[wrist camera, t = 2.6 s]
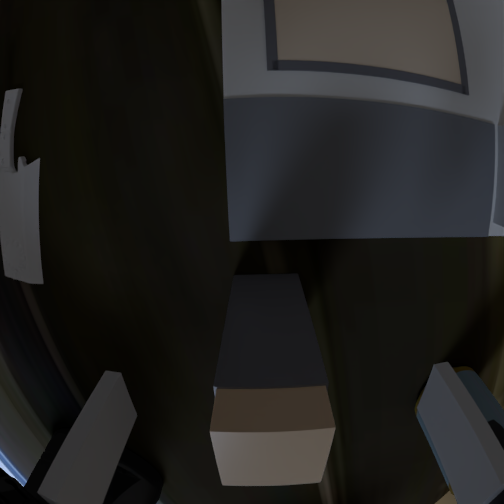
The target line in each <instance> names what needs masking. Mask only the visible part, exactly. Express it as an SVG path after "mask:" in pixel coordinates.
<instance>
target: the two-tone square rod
mask: <svg viewBox="0 0 504 504" xmlns="http://www.w3.org/2000/svg"><path fill="white" fill-rule="evenodd" d="M328 384H329V383H328V379H327V375H326V371H325V367H324V364H323V360H322V356H321V353H320V349H319V345H318V342H317V338H316V334H315V331H314V327H313V324H312V320H311V317H310V313H309V310H308V306H307V303H306V299H305V296H304V292H303V289H302V285H301V282H300V279H299V275H298V273H292V274H257V275H234V277H233V282H232V287H231V293H230V298H229V303H228V309H227V314H226V319H225V325H224V330H223V336H222V341H221V347H220V352H219V358H218V363H217V369H216V375H215V380H214V386H213V388H214V394H215V401H214V407H213V413H212V420H211V426H210V436H211V440H212V444H213V449H214V453H215V457H216V461H217V466H218V470H219V474H220V478H221V482H222V485H231V486H275V485H294V484H307V483H317V482H321V480H322V476H323V473H324V469H325V466H326V462H327V459H328V455H329V451H330V448H331V444H332V440H333V436H334V432H335V428H336V427H335V423H334V418H333V414H332V410H331V406H330V402H329V397H328V393H327V390H328Z"/></svg>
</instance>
